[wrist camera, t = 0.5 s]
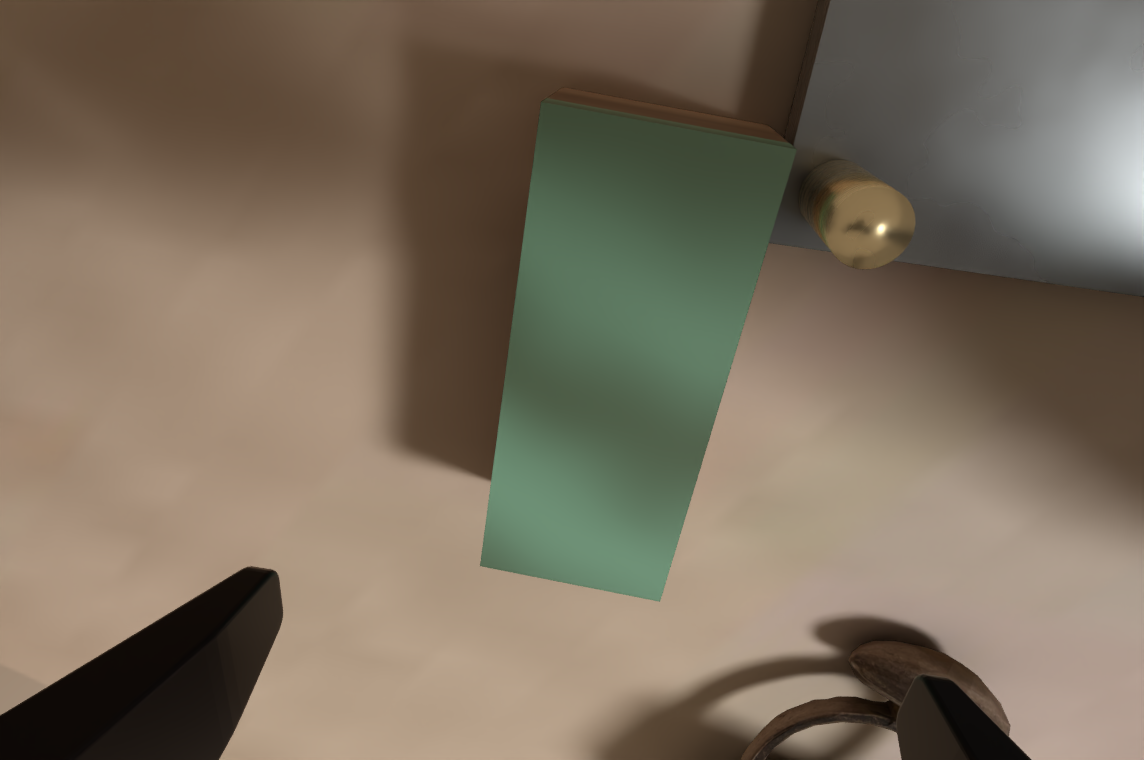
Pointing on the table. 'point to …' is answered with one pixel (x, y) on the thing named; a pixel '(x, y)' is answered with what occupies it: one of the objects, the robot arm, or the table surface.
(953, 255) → the plate
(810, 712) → the bronze antique clock
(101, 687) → the robot arm
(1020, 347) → the table surface
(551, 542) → the board block
